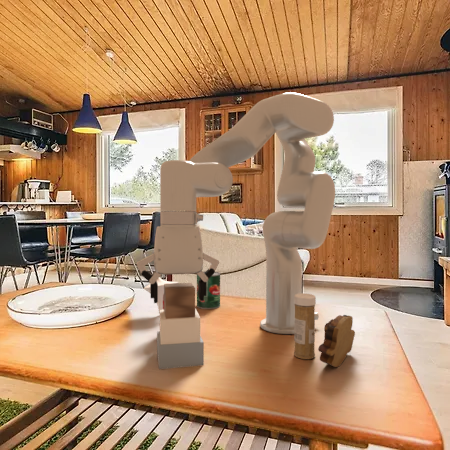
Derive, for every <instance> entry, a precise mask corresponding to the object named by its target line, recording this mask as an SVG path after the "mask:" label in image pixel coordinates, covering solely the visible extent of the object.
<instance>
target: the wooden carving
mask: <svg viewBox="0 0 450 450" xmlns="http://www.w3.org/2000/svg"><path fill="white" fill-rule="evenodd" d="M353 319H354V318H353V316H351V315H347V314H343V315H341V314H339V315H338V316H336V317H335V318H334V319H333V318H332V319H331V320H330V321H328V322H326V323H325V325H324V340H323V343H321V344H320V345H319V347H318V352H319V353H320V355H319V361H320V362H322V363H325V364H328V365H329V366H332V367H334V368H338V367H340V366H341V365H342V363H343V362H344V361H345V359H346V357H347V355H348V353H350V352H351V351H352V348H353V344H354V340H355V335H356V332H355V330H354V329H352V328H353Z"/></svg>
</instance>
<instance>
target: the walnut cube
mask: <svg viewBox="0 0 450 450" xmlns="http://www.w3.org/2000/svg"><path fill="white" fill-rule="evenodd" d="M195 308H196V287H195V286H194V284H193V283H192V282H180V283H174V284H164V313H165V317H166V319H171V318H188V317H195Z"/></svg>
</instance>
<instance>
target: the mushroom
mask: <svg viewBox="0 0 450 450" xmlns="http://www.w3.org/2000/svg"><path fill="white" fill-rule="evenodd" d="M174 283H179V281H166V280H164V279H162V278H161V277H159V278H158V279H157V284H158V302H157V303H156V304H157V308H158V314H159V315H160V310H163V294H164V284H174ZM142 289H143V290H144V291H146V292H147V293H149V294H150V295H151V292H150V283H149V284H148V285H146V286H145V287H143V288H142Z"/></svg>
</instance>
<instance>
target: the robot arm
mask: <svg viewBox="0 0 450 450" xmlns="http://www.w3.org/2000/svg"><path fill="white" fill-rule="evenodd" d="M334 121H335V116H334V112H333V110H332V108H331V107H330V105H329V104H327V103H326V102H325V101H322V100H319V99H317V98H315V97H311V96H308V95H304V94H301V93H297V92H291V91H290V92H284V93H280V94H276V95H273V96H270V97H268V98H267V97H266V98H264V99H262V100H260V101H258V102H257V103H255V104H254V105H253V106H252V107H251V108H250V109H249V111H247V112H246V114H244V115H243V116H242V117H241V118H240V119H239V120H238V122H236V124H235V125H233V126H232V127H231V128H230V129H229V130H227V131H226V132H225V133H223V134H222V135H220V136H218V137H217V138H216V139H215V140H213V141H212V142H210V143H209V144H207V145H205V146H204V147H202V149H200V150H199V151H197V152H196V153H195V154H194V155H193V156H192V157H191V158H190V159H189V160H183V159H172V160H166V161H163V162H162V164H161V165H160V170H159V171H160V173H159V174H160V177H159V178H160V179H159V180H160V183H159V184H160V187H159V188H160V192H159V193H160V196H159V197H160V198H159V200H160V203H159V205H160V209H159V210H160V211H159V212H160V226H159V225H158V226H156V229H155V235H154V248H153V253H152V254H150V255H147V256H146V257H144V258H142V259H140V260H139V261H137V262H136V267H137V268H138V271H139V272H140V274H141V276H142V277H143V278H144V279H145V280H147V282H149V284H150V292H151V294H150V299H153V304H157V302H158V284H157V279H158V278H161V276H162V275H191V274H192V275H193V274H196V275H197V274H198V276H199V277H200V280H199V281H198V297H199V299H200V300H201V301H204V296H206V282H207V281H208V279H209V278H210V277H211V276H212V275H213V274H214V273H215V272H216V270H217V268H218V266H219V264H220V261H219V260H218V259H217V258H214V257H212V256H210V255H209V254H206V253H204V252H203V240H202V234H201V233H202V232H201V229H200V226H199V225H197V224H198V222H201V221H202V222H203V221H204V214H200V213H198V212H197V198H213V197H215V198H216V197H220V196H223V195H225V194H226V193H228V192H229V191H230V189H231V188H232V185H233V183H234V182H233V180H234V179H233V174H232V172H231V169H230V167H232V166H235V165H238V164H241V163H243V162H245V161H248V160H249V159H251V158H252V157H254V156H256V155H257V153H258V152H259V151H260V150H261V149H262V148H263V147H264V146H265V144H266V143H267V142H268V141H269V140H270V139H271V138H272V136H273V135H275V134H276V136H277V138H278V140H279V141H280V144H281V147H282V148H283V153H284V162H283V166H282V170H281V174H280V179H279V183H278V187H277V192H276V198H277V202H278V203H279V205H281V206H282V207H284V208H286V209H287V208H288V209H304V210H302V211H301V210H299V211H297V210H281V211H278V210H277V211H275V212H272V213H270V214H269V215H267V217H266V218H265V220H264V221H263V225H262V235H263V239H264V240H263V241H264V246H265V253H266V254H265V255H266V260H265V261H266V269H265V270H266V271H265V273H266V276H265V277H266V284H265V285H266V287H265V288H266V291H265V292H266V294H265V295H266V297H265V299H266V300H265V302H266V304H265V308H266V309H265V313H266V314H265V318H263V319H262V320H260V328H261V329H262V330H264V331H267V332H269V333H272V334H279V335H280V334H281V335H294V324H295V303H294V296H295V295H296V294H301V293H303V292H302V291H303V290H302V288H303V285H302V283H303V281H302V280H303V263H302V257H301V255H300V254H299V253H300V252H299V251H298V249H306V250H307V249H309V250H314V249H318V248H319V247H321V246H322V245H323V244H324V242H325V240H326V238H327V236H328V230H329V228H330V227H329V226H330V222H331V218H332V213H333V209H334V205H335V198H336V186H335V182H334V180H333V178H332V176H331V175H330V174H328V173H327V172H324V171H315V166H316V155H315V153H314V151H313V149H312V148H311V147H310V145H309V143H308V142H307V140H306V139H309V138H315V137H320V136H323V135H326V134H328V133H329V132H330V131H331V130H332V128H333V126H334ZM204 261H206V262H208V263H210V266H209V268H207V270H205V271H203V269H204ZM152 262H153V268H154V269H155V270H154V271H153V272H152V273H150V272H149V271H148V270H147V268H146V265H148V264H150V263H152ZM203 272H205V273H203ZM319 318H320V317H319V314H318V312H315V315H314V320H315V321H318V320H319Z"/></svg>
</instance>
